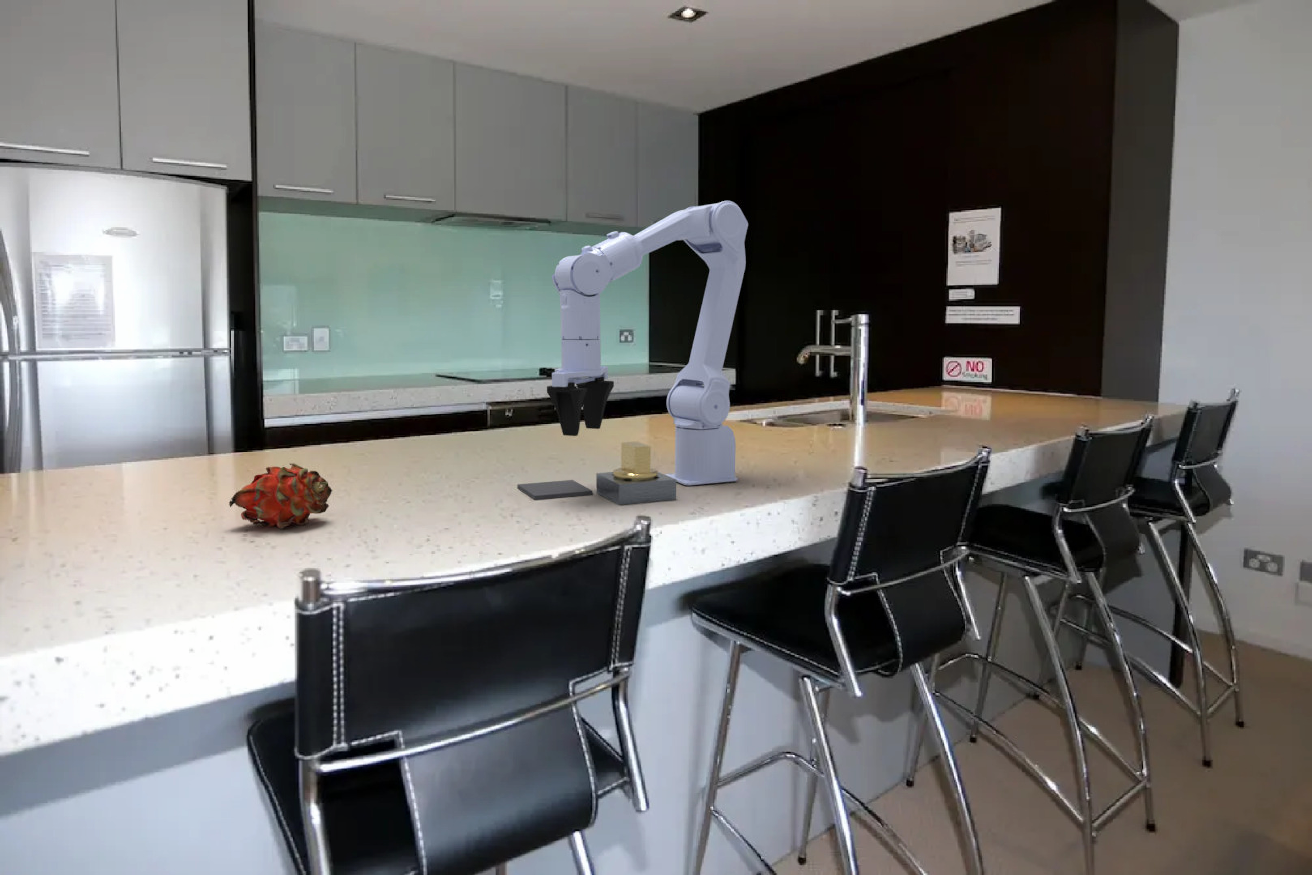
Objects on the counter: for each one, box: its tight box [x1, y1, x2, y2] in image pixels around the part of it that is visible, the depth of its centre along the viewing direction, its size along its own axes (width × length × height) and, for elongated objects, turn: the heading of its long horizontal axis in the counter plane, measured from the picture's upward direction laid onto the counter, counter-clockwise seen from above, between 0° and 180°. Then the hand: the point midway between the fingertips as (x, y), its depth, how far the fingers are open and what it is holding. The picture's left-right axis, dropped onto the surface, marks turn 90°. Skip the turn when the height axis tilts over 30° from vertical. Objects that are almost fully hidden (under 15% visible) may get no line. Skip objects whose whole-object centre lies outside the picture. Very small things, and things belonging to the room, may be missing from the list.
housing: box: [595, 471, 677, 506], centre depth 125 cm, size 9×9×3 cm
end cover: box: [612, 441, 659, 481], centre depth 125 cm, size 7×7×8 cm
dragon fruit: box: [228, 462, 333, 530], centre depth 107 cm, size 8×8×12 cm
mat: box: [517, 479, 594, 501], centre depth 129 cm, size 9×9×1 cm
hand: (582, 431), depth 125 cm, fingers open, 7 cm apart
